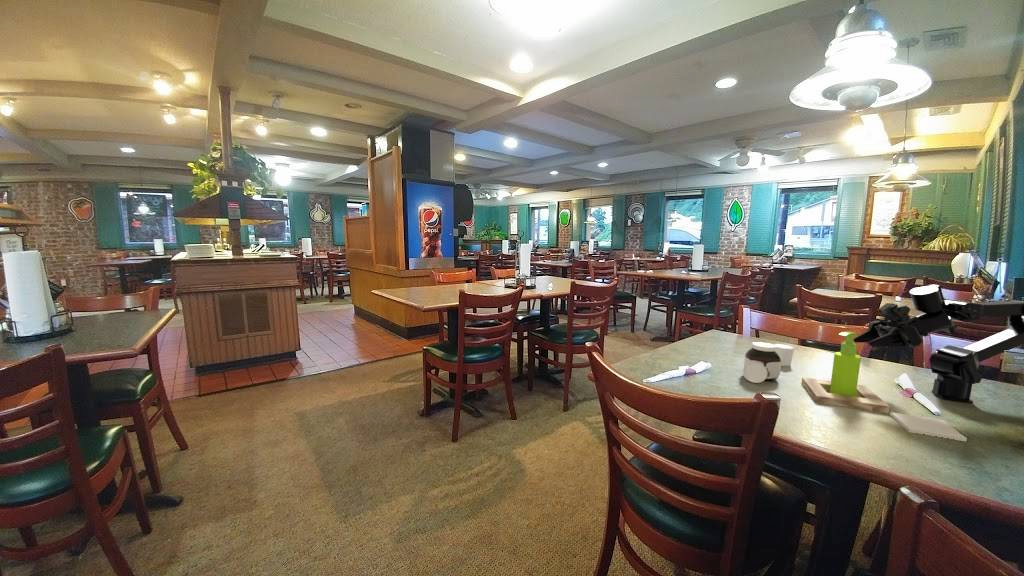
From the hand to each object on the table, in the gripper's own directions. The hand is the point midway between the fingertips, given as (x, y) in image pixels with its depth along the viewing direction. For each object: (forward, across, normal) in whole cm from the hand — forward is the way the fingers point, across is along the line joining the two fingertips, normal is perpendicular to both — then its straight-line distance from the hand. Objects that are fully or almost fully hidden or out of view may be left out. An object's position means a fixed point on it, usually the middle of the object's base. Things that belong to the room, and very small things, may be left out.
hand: (860, 342), depth 116 cm
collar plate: (+13, +5, +12) cm, 18 cm away
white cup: (+18, -24, +5) cm, 30 cm away
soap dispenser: (+13, +5, +12) cm, 18 cm away
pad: (+3, +20, +19) cm, 28 cm away
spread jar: (+30, -3, +3) cm, 30 cm away
